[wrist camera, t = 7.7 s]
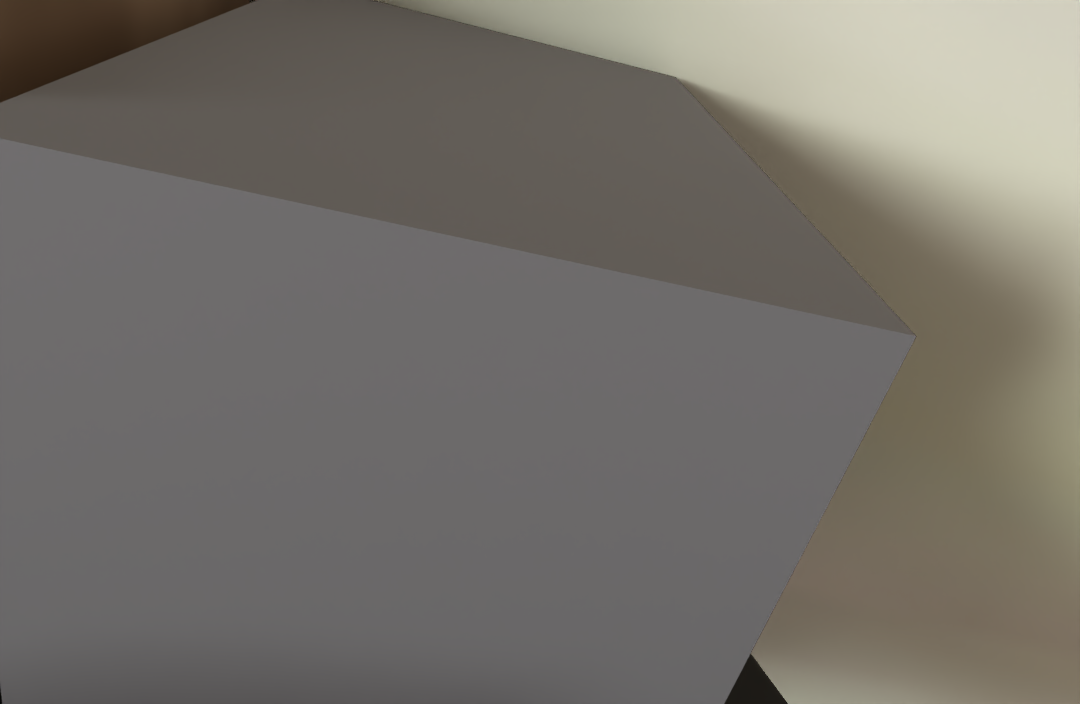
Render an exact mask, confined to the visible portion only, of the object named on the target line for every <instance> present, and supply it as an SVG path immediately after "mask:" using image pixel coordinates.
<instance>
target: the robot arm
mask: <svg viewBox="0 0 1080 704" xmlns="http://www.w3.org/2000/svg"><path fill="white" fill-rule="evenodd" d="M0 704H2V696H1V687H0ZM724 704H788V703H787V702H786V701H785V699H784V698H783V697H782V695H781V694H780V693H779V691H778V690H777V688H776V687H775V686H774V684H773V683H772V682H771V680H770V679H769V678H768V676H767V675H766V674H765V672H764V671H763V669H762V668H761V667H760V665H759V664H758V663H757V661H756V660H755V659H754V657H753V656H752V655H751V654H750V655H749V657H748V659H747V661H746V663H745V665H744V667H743V669H742V671H741V673H740V675H739V676H738V678H737V680H736V682H735V684H734V686H733V688H732V690H731V692H730V694H729V696H728V698H727V699H726V701H725V703H724Z"/></svg>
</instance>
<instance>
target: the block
mask: <svg viewBox="0 0 1080 704" xmlns="http://www.w3.org/2000/svg"><path fill="white" fill-rule="evenodd" d="M915 338H916V335H915V334H914V333H913V332H912V331H911V330H910V329H909V328H908V327H907V326H906V325H905V323H904V322H903V321H902V320H901V319H900V318H899V317H898V316H897V315H896V314H895V313H894V312H893V311H892V309H891V308H890V307H889V306H888V305H887V304H886V303H885V302H884V301H883V300H882V299H881V298H880V297H879V295H878V294H877V293H876V292H875V291H874V290H873V289H872V288H871V287H870V286H869V285H868V284H867V283H866V281H865V280H864V279H863V278H862V277H861V276H860V275H859V274H858V273H857V272H856V271H855V270H854V269H853V267H852V266H851V265H850V264H849V263H848V262H847V261H846V260H845V259H844V258H843V257H842V256H841V255H840V253H839V252H838V251H837V250H836V249H835V248H834V247H833V246H832V245H831V244H830V243H829V242H828V241H827V240H826V238H825V237H824V236H823V235H822V234H821V233H820V232H819V231H818V230H817V229H816V228H815V227H814V226H813V224H812V223H811V222H810V221H809V220H808V219H807V218H806V217H805V216H804V215H803V214H802V213H801V212H800V210H799V209H798V208H797V207H796V206H795V205H794V204H793V203H792V202H791V201H790V200H789V199H788V198H787V196H786V195H785V194H784V193H783V192H782V191H781V190H780V189H779V188H778V187H777V186H776V185H775V184H774V182H773V181H772V180H771V179H770V178H769V177H768V176H767V175H766V174H765V173H764V172H763V171H762V170H761V168H760V167H759V166H758V165H757V164H756V163H755V162H754V161H753V160H752V159H751V158H750V157H749V156H748V155H747V153H746V152H745V151H744V150H743V149H742V148H741V147H740V146H739V145H738V144H737V143H736V142H735V141H734V139H733V138H732V137H731V136H730V135H729V134H728V133H727V132H726V131H725V130H724V129H723V128H722V127H721V125H720V124H719V123H718V122H717V121H716V120H715V119H714V118H713V117H712V116H711V115H710V114H709V113H708V111H707V110H706V109H705V108H704V107H703V106H702V105H701V104H700V103H699V102H698V101H697V100H696V99H695V97H694V96H693V95H692V94H691V93H690V92H689V91H688V90H687V89H686V88H685V87H684V86H683V85H682V83H681V82H680V81H679V80H678V79H677V78H676V77H672V76H668V75H665V74H661V73H657V72H653V71H649V70H645V69H641V68H637V67H633V66H629V65H625V64H621V63H617V62H613V61H609V60H605V59H602V58H598V57H594V56H590V55H586V54H582V53H578V52H574V51H570V50H566V49H562V48H558V47H554V46H550V45H546V44H542V43H538V42H535V41H531V40H527V39H523V38H519V37H515V36H511V35H507V34H503V33H499V32H495V31H491V30H487V29H483V28H479V27H475V26H471V25H468V24H464V23H460V22H456V21H452V20H448V19H444V18H440V17H436V16H432V15H428V14H424V13H420V12H416V11H412V10H408V9H405V8H401V7H397V6H393V5H389V4H385V3H381V2H377V1H373V0H257V1H254V2H252V3H249V4H247V5H244V6H242V7H239V8H237V9H234V10H232V11H229V12H227V13H224V14H222V15H219V16H217V17H214V18H212V19H209V20H207V21H204V22H202V23H199V24H197V25H194V26H192V27H189V28H187V29H184V30H181V31H179V32H176V33H174V34H171V35H169V36H166V37H164V38H161V39H159V40H156V41H154V42H151V43H149V44H146V45H144V46H141V47H139V48H136V49H134V50H131V51H129V52H126V53H124V54H121V55H119V56H116V57H114V58H111V59H109V60H106V61H104V62H101V63H99V64H96V65H94V66H91V67H89V68H86V69H84V70H81V71H79V72H76V73H74V74H71V75H69V76H66V77H64V78H61V79H59V80H56V81H54V82H51V83H49V84H46V85H44V86H41V87H39V88H36V89H34V90H31V91H29V92H26V93H24V94H21V95H19V96H16V97H13V98H11V99H8V100H6V101H3V102H1V103H0V687H1V696H2V704H724V703H725V701H726V699H727V698H728V696H729V694H730V692H731V690H732V688H733V686H734V684H735V682H736V680H737V678H738V676H739V675H740V673H741V671H742V669H743V667H744V665H745V663H746V661H747V659H748V657H749V655H750V654H751V652H752V650H753V648H754V646H755V644H756V642H757V640H758V638H759V636H760V634H761V632H762V631H763V629H764V627H765V625H766V623H767V621H768V619H769V617H770V615H771V613H772V611H773V610H774V608H775V606H776V604H777V602H778V600H779V598H780V596H781V594H782V592H783V590H784V588H785V587H786V585H787V583H788V581H789V579H790V577H791V575H792V573H793V571H794V569H795V567H796V566H797V564H798V562H799V560H800V558H801V556H802V554H803V552H804V550H805V548H806V546H807V544H808V543H809V541H810V539H811V537H812V535H813V533H814V531H815V529H816V527H817V525H818V523H819V522H820V520H821V518H822V516H823V514H824V512H825V510H826V508H827V506H828V504H829V502H830V500H831V499H832V497H833V495H834V493H835V491H836V489H837V487H838V485H839V483H840V481H841V479H842V478H843V476H844V474H845V472H846V470H847V468H848V466H849V464H850V462H851V460H852V458H853V456H854V455H855V453H856V451H857V449H858V447H859V445H860V443H861V441H862V439H863V437H864V435H865V434H866V432H867V430H868V428H869V426H870V424H871V422H872V420H873V418H874V416H875V414H876V412H877V411H878V409H879V407H880V405H881V403H882V401H883V399H884V397H885V395H886V393H887V391H888V390H889V388H890V386H891V384H892V382H893V380H894V378H895V376H896V374H897V372H898V370H899V369H900V367H901V365H902V363H903V361H904V359H905V357H906V355H907V353H908V351H909V349H910V347H911V346H912V344H913V342H914V340H915Z"/></svg>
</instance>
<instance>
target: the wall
mask: <svg viewBox="0 0 1080 704" xmlns="http://www.w3.org/2000/svg"><path fill="white" fill-rule="evenodd" d="M249 1H250V0H0V103H1V102H3V101H6V100H8V99H11V98H13V97H16V96H19V95H21V94H24V93H26V92H29V91H31V90H34V89H36V88H39V87H41V86H44V85H46V84H49V83H51V82H54V81H56V80H59V79H61V78H64V77H66V76H69V75H71V74H74V73H76V72H79V71H81V70H84V69H86V68H89V67H91V66H94V65H96V64H99V63H101V62H104V61H106V60H109V59H111V58H114V57H116V56H119V55H121V54H124V53H126V52H129V51H131V50H134V49H136V48H139V47H141V46H144V45H146V44H149V43H151V42H154V41H156V40H159V39H161V38H164V37H166V36H169V35H171V34H174V33H176V32H179V31H181V30H184V29H187V28H189V27H192V26H194V25H197V24H199V23H202V22H204V21H207V20H209V19H212V18H214V17H217V16H219V15H222V14H224V13H227V12H229V11H232V10H234V9H237V8H239V7H242V6H244V5H247V4H249Z"/></svg>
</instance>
